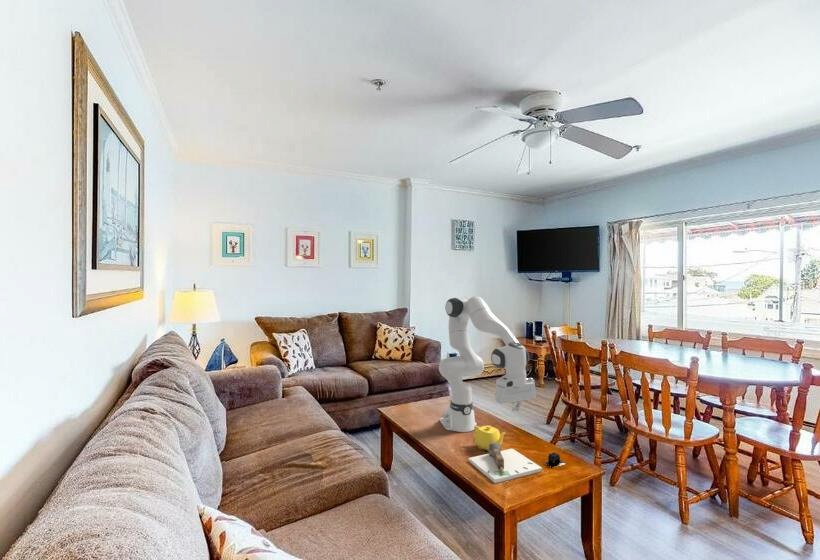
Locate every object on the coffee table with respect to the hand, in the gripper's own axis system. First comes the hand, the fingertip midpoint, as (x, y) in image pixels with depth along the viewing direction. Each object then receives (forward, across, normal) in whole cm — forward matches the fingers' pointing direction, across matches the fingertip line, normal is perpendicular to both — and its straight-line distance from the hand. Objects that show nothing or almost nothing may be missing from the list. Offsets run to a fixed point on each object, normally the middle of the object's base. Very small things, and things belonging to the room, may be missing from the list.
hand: (515, 410), depth 172 cm
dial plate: (+23, +7, +1) cm, 24 cm away
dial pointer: (+21, +10, +1) cm, 23 cm away
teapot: (+23, +3, -16) cm, 29 cm away
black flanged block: (+24, -15, +8) cm, 29 cm away
